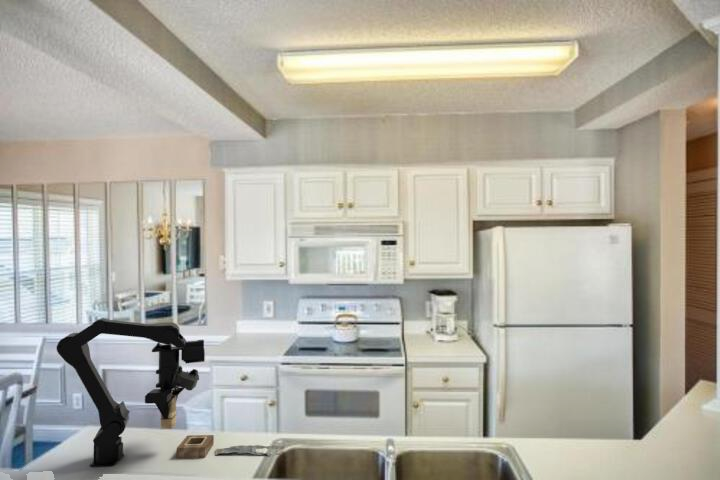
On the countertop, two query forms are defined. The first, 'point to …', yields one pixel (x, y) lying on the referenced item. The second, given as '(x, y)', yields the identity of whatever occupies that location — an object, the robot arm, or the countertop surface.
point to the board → (195, 446)
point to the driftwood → (248, 449)
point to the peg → (170, 416)
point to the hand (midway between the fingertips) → (168, 416)
